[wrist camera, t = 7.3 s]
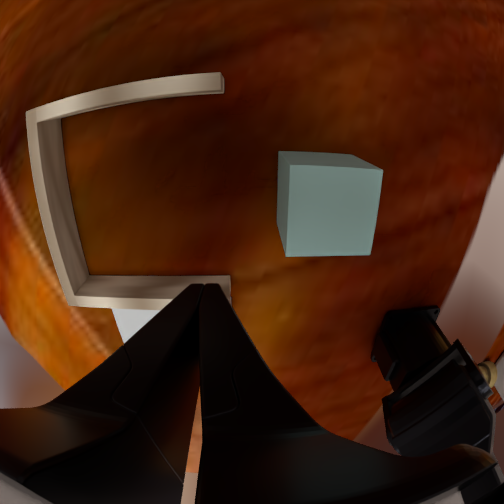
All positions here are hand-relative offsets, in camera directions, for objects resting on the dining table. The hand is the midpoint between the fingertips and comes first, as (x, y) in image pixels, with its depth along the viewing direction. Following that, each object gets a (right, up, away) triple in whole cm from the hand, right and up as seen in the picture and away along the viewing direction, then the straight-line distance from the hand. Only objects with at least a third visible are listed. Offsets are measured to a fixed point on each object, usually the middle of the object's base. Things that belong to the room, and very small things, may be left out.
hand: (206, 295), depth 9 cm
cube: (+6, +6, +11) cm, 13 cm away
